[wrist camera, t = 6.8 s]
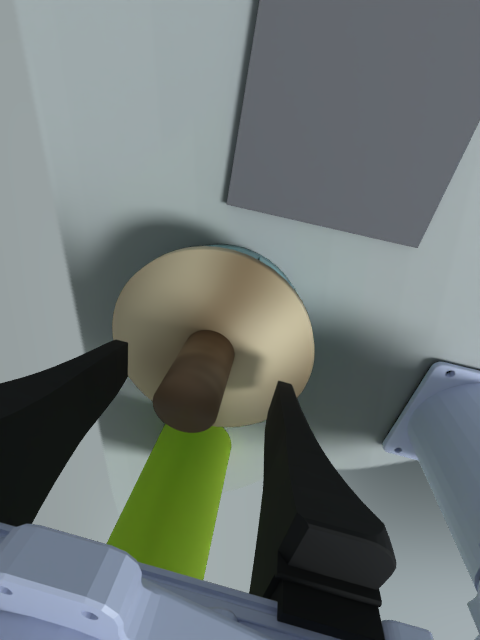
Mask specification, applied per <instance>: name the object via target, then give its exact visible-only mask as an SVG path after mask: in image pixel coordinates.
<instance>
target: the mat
mask: <svg viewBox="0 0 480 640" xmlns="http://www.w3.org/2000/svg"><path fill="white" fill-rule="evenodd" d="M479 121H480V0H260V1H259V7H258V13H257V19H256V25H255V31H254V38H253V44H252V50H251V56H250V62H249V69H248V75H247V81H246V87H245V93H244V100H243V106H242V112H241V118H240V124H239V131H238V137H237V143H236V149H235V155H234V162H233V168H232V174H231V180H230V186H229V192H228V199H227V205H231V206H236V207H240V208H244V209H249V210H253V211H257V212H262V213H266V214H271V215H275V216H279V217H284V218H288V219H292V220H297V221H301V222H306V223H310V224H314V225H319V226H323V227H327V228H332V229H336V230H341V231H345V232H349V233H354V234H358V235H362V236H367V237H371V238H376V239H380V240H384V241H389V242H393V243H397V244H402V245H406V246H411V247H415V248H418V246H419V244H420V242H421V240H422V238H423V236H424V234H425V232H426V230H427V228H428V226H429V224H430V222H431V219H432V217H433V215H434V213H435V211H436V209H437V207H438V205H439V203H440V201H441V199H442V197H443V195H444V193H445V191H446V189H447V187H448V185H449V183H450V181H451V179H452V176H453V174H454V172H455V170H456V168H457V166H458V164H459V162H460V160H461V158H462V156H463V154H464V152H465V150H466V148H467V146H468V144H469V142H470V140H471V138H472V135H473V133H474V131H475V129H476V127H477V125H478V123H479Z"/></svg>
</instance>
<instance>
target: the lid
mask: <svg viewBox="0 0 480 640" xmlns="http://www.w3.org/2000/svg"><path fill="white" fill-rule="evenodd" d="M112 331H113V340H120V341H124V342H128V376H129V378H130V379H131V380H132V381H133V383H134V384H135V385H136V386H137V388H138V389H139V390H140V391H141V392H142V393H143V394H144V395H145V396H147V397H148V398H149V399H150V400H151V401H153V407H154V410H155V412H156V414H157V416H158V417H159V418H160V419H161V420H162V421H163V422H164V423H165V424H167V425H168V426H170V427H172V428H173V429H176V430H178V431H182V432H187V433H198V432H202V431H205V430H207V429H209V428H210V427H211V426H215V427H240V426H246V425H252V424H255V423H259V422H262V421H264V420H267V413H268V410H269V407H270V404H271V401H272V398H273V395H274V392H275V389H276V386H277V383H278V381H282V382H286V383H290V384H292V386H293V388H294V391H295V394H296V397H297V398H298V396H299V395H300V394H301V392H302V391H303V390H304V388H305V386H306V384H307V382H308V380H309V377H310V374H311V372H312V368H313V362H314V339H313V332H312V326H311V322H310V319H309V316H308V313H307V311H306V308H305V306H304V304H303V302H302V300H301V299H300V297H299V296H298V294H297V293H296V291H295V290H294V289H293V288H292V286H291V285H290V284H289V283H288V282H287V281H286V280H285V279H284V278H283V277H282V276H281V275H280V274H278V273H277V272H276V271H275V270H274V269H272V268H271V267H269V266H268V265H266V264H265V263H263V262H262V261H260V260H258V259H256V258H254V257H252V256H249V255H247V254H244V253H241V252H238V251H235V250H232V249H227V248H222V247H212V246H197V247H187V248H183V249H178V250H175V251H172V252H169V253H167V254H164V255H162V256H160V257H159V258H157V259H155V260H153V261H152V262H150V263H149V264H147V265H146V266H144V267H143V268H142V269H140V270H139V271H138V272H137V273H135V274H134V275H133V277H132V278H131V279H130V280H129V281H128V282H127V283H126V285H125V286H124V288H123V290H122V291H121V293H120V295H119V297H118V300H117V302H116V305H115V309H114V313H113V322H112Z"/></svg>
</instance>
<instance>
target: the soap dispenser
mask: <svg viewBox="0 0 480 640" xmlns="http://www.w3.org/2000/svg"><path fill="white" fill-rule="evenodd" d="M230 450H231V440H230V437H229V435H228V433H227V432H226V431H225V429H224V428H223V427H215V426H211V427H210V428H209V429H207V430H205V431H202V432H198V433H187V432H182V431H178V430H176V429H173V428H172V427H170V426H168V425H167V424H165V425H164V427H163V429H162V431H161V433H160V435H159V438H158V440H157V442H156V444H155V446H154V448H153V450H152V452H151V454H150V456H149V458H148V460H147V462H146V464H145V466H144V468H143V470H142V472H141V474H140V476H139V478H138V480H137V482H136V484H135V487H134V489H133V491H132V493H131V495H130V497H129V499H128V501H127V503H126V505H125V507H124V509H123V511H122V513H121V515H120V517H119V519H118V521H117V523H116V525H115V527H114V529H113V532H112V533H111V536H110V538H109V540H108V542H107V544H108V545H112V546H114V547H116V548H119V549H121V550H123V551H126V552H127V553H128V554H130V555H131V556H132V557H133V558H135V559H136V560H137V562H141V563H144V564H148V565H151V566H155V567H158V568H162V569H165V570H169V571H172V572H176V573H179V574H183V575H186V576H190V577H193V578H197V579H200V580H203V579H204V574H205V570H206V565H207V560H208V555H209V550H210V546H211V540H212V536H213V531H214V527H215V521H216V517H217V512H218V508H219V503H220V498H221V493H222V489H223V484H224V479H225V474H226V469H227V465H228V460H229V455H230Z"/></svg>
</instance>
